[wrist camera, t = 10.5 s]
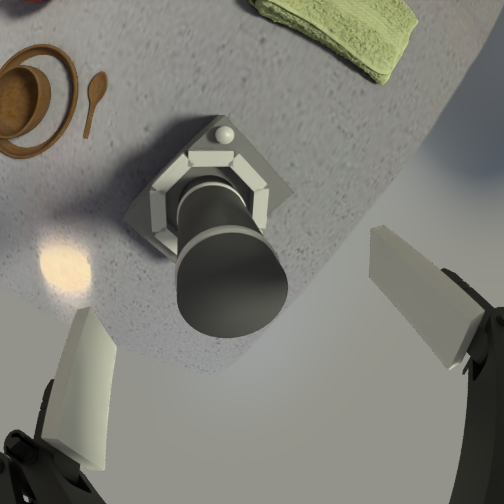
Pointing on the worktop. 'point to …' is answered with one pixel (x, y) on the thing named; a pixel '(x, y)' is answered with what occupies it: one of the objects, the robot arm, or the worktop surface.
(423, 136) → the worktop surface
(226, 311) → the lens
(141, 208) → the block with octagonal ring
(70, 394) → the robot arm
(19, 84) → the place setting
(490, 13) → the worktop surface
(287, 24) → the washcloth
